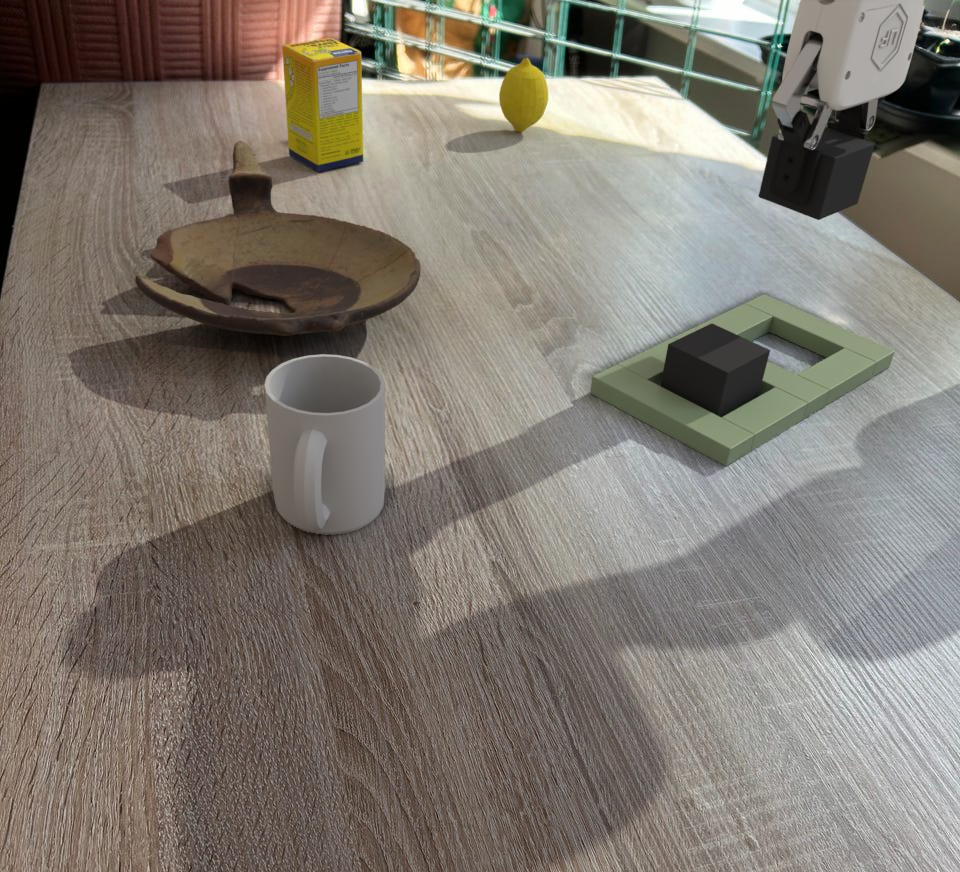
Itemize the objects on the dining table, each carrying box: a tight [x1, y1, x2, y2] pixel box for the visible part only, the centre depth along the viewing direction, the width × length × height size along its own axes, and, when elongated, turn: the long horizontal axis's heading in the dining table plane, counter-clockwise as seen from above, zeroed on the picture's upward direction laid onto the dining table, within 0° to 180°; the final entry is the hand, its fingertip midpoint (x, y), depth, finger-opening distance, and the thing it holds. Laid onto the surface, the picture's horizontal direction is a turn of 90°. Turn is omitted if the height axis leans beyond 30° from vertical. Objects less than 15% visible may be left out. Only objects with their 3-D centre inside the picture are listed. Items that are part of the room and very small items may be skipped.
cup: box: [264, 353, 386, 536], centre depth 68 cm, size 7×10×9 cm
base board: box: [589, 293, 896, 467], centre depth 88 cm, size 23×13×2 cm, turn 135°
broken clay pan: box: [134, 140, 421, 337], centre depth 91 cm, size 22×30×8 cm
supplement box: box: [281, 37, 364, 173], centre depth 114 cm, size 6×6×11 cm
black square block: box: [758, 123, 876, 221], centre depth 83 cm, size 6×6×4 cm
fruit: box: [498, 56, 549, 133], centre depth 125 cm, size 6×6×8 cm
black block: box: [660, 323, 771, 418], centre depth 84 cm, size 6×6×4 cm
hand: (811, 187), depth 84 cm, fingers closed on black square block, 5 cm apart
